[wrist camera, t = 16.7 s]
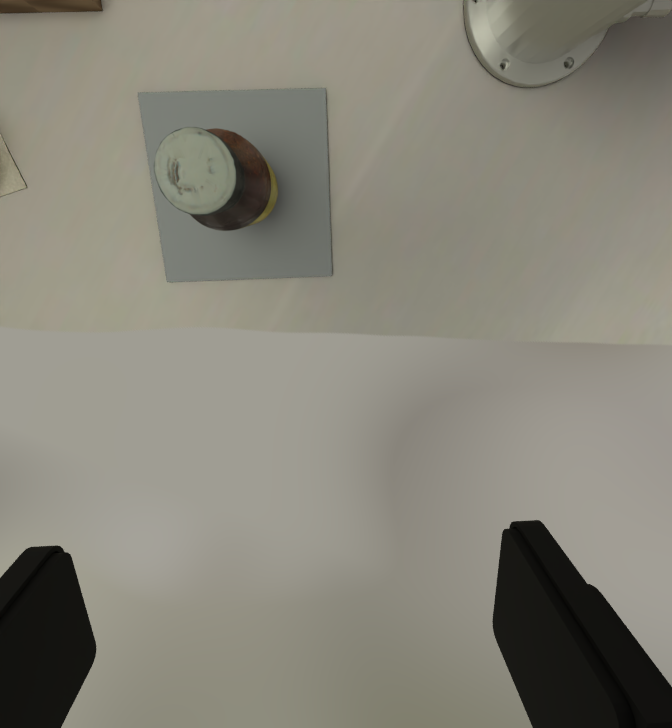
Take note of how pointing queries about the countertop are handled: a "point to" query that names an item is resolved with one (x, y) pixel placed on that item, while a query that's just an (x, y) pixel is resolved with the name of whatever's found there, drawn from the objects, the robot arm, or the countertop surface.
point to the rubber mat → (292, 171)
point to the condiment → (8, 172)
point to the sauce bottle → (215, 177)
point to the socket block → (49, 6)
